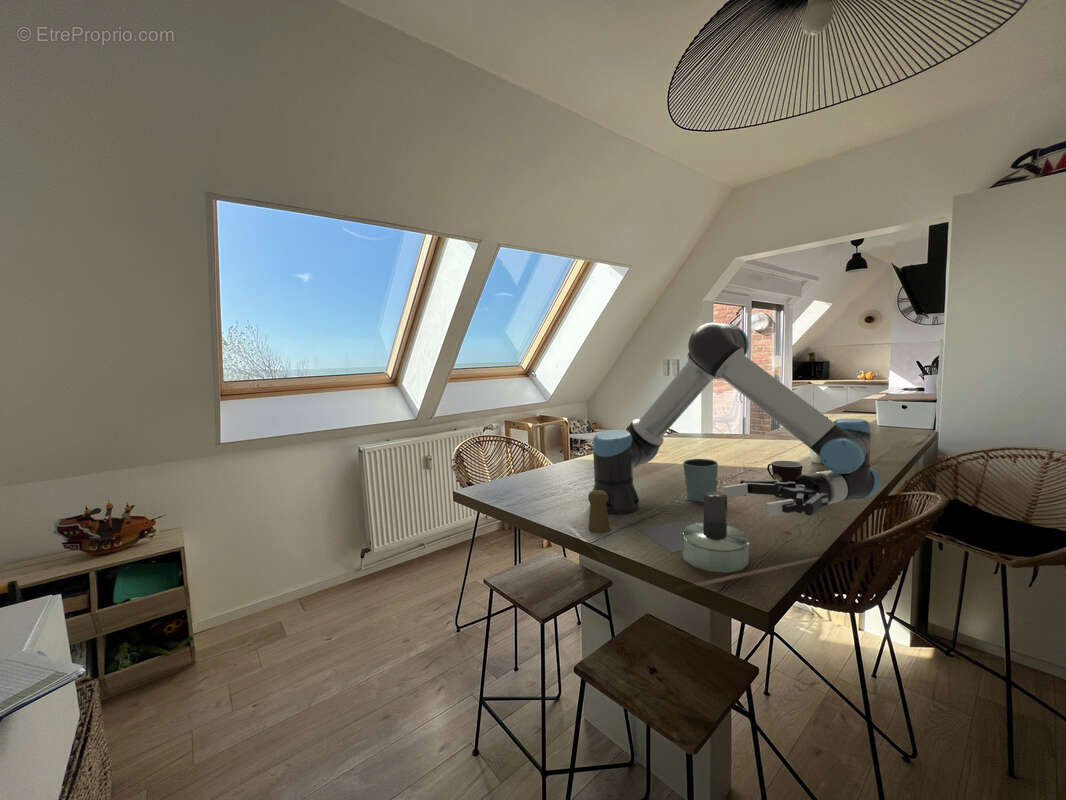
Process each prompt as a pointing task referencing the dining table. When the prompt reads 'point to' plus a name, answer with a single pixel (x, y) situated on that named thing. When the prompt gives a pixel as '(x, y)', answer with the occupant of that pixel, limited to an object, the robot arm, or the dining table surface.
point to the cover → (715, 539)
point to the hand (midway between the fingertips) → (744, 500)
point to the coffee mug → (785, 470)
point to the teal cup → (700, 478)
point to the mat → (668, 534)
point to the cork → (598, 512)
